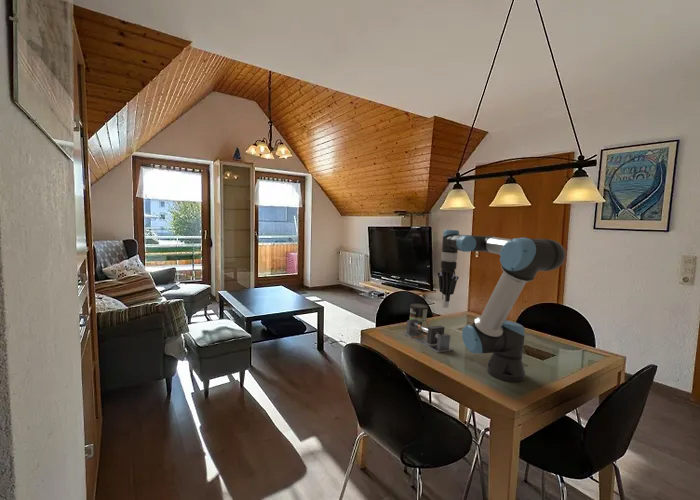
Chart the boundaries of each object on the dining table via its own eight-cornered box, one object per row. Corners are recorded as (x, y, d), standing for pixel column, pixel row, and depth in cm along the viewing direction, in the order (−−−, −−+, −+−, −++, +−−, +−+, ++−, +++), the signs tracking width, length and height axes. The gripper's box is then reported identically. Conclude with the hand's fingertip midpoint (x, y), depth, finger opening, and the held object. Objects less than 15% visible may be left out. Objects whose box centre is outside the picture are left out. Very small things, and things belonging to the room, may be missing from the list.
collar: (443, 342, 177) (444, 327, 176) (430, 344, 173) (431, 328, 172) (439, 340, 179) (440, 325, 178) (426, 342, 176) (428, 326, 175)
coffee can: (413, 331, 199) (415, 307, 198) (406, 325, 209) (407, 303, 208) (429, 330, 202) (430, 307, 201) (420, 325, 212) (422, 303, 211)
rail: (453, 350, 171) (454, 335, 171) (437, 352, 167) (438, 337, 166) (416, 331, 198) (417, 318, 197) (402, 333, 194) (403, 320, 193)
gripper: (464, 262, 163) (460, 310, 165) (445, 259, 175) (442, 303, 177) (452, 262, 160) (448, 311, 162) (434, 259, 172) (430, 304, 174)
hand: (445, 307), depth 169 cm, fingers closed
